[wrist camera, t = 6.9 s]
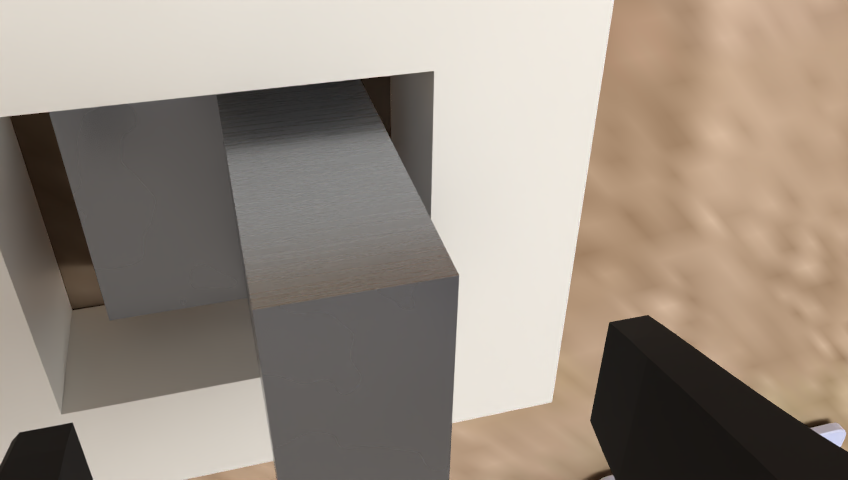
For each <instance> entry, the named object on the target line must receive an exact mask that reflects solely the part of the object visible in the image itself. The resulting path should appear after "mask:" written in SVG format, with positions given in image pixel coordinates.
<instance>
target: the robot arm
mask: <svg viewBox="0 0 848 480" xmlns="http://www.w3.org/2000/svg"><path fill="white" fill-rule="evenodd" d="M590 421H591V424H592V426H593V429H594V431H595V434H596V436H597V439H598V441H599V443H600V446H601V448H602V451H603V453H604V456H605V458H606V460H607V462H608V465H609V467H610V469H611V471H612V474H613V475H610V476H606V477H603V478H601V479H600V480H848V452H847V451H846V450H844V449H842V448H841V445H842V443H843V441H844V439H845V436H846V432H845V430H844V429H843V428H842V427H841V426H840V424H838V423H829V424H824V425H820V426H816V427H812V428H809V427H808V426H806V425H804V424H803V423H801V422H800V421H798V420H797V419H795V418H794V417H792V416H791V415H789V414H788V413H786V412H785V411H783V410H782V409H780V408H779V407H777V406H776V405H775V404H773V403H772V402H770V401H769V400H767V399H766V398H764V397H763V396H761V395H760V394H759V393H757V392H756V391H754V390H753V389H751V388H750V387H749V386H747V385H746V384H744V383H743V382H741V381H740V380H739V379H737V378H736V377H734V376H733V375H732V374H730V373H729V372H727V371H726V370H725V369H723V368H722V367H720V366H719V365H718V364H716V363H715V362H713V361H712V360H711V359H709V358H708V357H706V356H705V355H704V354H702V353H701V352H700V351H698V350H697V349H695V348H694V347H693V346H691V345H690V344H688V343H687V342H686V341H684V340H683V339H682V338H680V337H679V336H677V335H676V334H675V333H673V332H672V331H670V330H669V329H667V328H666V327H665V326H663V325H662V324H660V323H659V322H657V321H656V320H654V319H653V318H651V317H650V316H648V315H646V316H641V317H636V318H630V319H625V320H620V321H614V322H609V327H608V332H607V337H606V342H605V347H604V352H603V358H602V363H601V368H600V373H599V378H598V383H597V388H596V394H595V399H594V404H593V409H592V414H591V419H590ZM0 480H93V478H92V475H91V472H90V469H89V466H88V464H87V461H86V458H85V455H84V452H83V450H82V447H81V444H80V441H79V439H78V436H77V433H76V430H75V427H74V425H73V422H72V423H67V424H62V425H56V426H51V427H46V428H40V429H35V430H30V431H24V432H19V434H18V435H17V436H16V437H15V438H14V439H13V440H12V442H11V444H10V446H9V448H8V450H7V452H6V454H5V456H4V458H3V461H2V463H1V465H0Z"/></svg>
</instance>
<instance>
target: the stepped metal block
mask: <svg viewBox="0 0 848 480" xmlns="http://www.w3.org/2000/svg"><path fill="white" fill-rule="evenodd" d="M49 114H50V118H51V121H52V125H53V128H54V132H55V135H56V138H57V142H58V145H59V149H60V152H61V156H62V159H63V163H64V166H65V169H66V173H67V176H68V180H69V183H70V187H71V190H72V194H73V197H74V200H75V204H76V207H77V211H78V214H79V218H80V221H81V224H82V228H83V231H84V235H85V238H86V242H87V245H88V249H89V252H90V255H91V259H92V262H93V266H94V269H95V273H96V276H97V280H98V283H99V286H100V290H101V293H102V297H103V300H104V304H105V307H106V310H107V314H108V317H109V321H111V320H117V319H123V318H129V317H135V316H141V315H147V314H154V313H160V312H166V311H172V310H178V309H184V308H190V307H196V306H202V305H208V304H214V303H221V302H227V301H233V300H239V299H245V298H247V299H248V305H249V312H250V318H251V324H252V330H253V336H254V342H255V349H256V355H257V361H258V367H259V373H260V380H261V386H262V392H263V398H264V404H265V410H266V417H267V423H268V429H269V435H270V441H271V448H272V454H273V460H274V466H275V472H276V479H277V480H449V472H450V452H451V432H452V412H453V392H454V372H455V352H456V332H457V312H458V292H459V274H458V272H457V270H456V268H455V266H454V264H453V262H452V260H451V258H450V256H449V254H448V252H447V250H446V248H445V246H444V244H443V242H442V240H441V238H440V236H439V234H438V232H437V230H436V228H435V226H434V224H433V222H432V220H431V218H430V216H429V214H428V212H427V210H426V208H425V206H424V204H423V202H422V200H421V198H420V196H419V195H418V193H417V191H416V189H415V187H414V185H413V183H412V181H411V179H410V177H409V175H408V173H407V171H406V169H405V167H404V165H403V163H402V161H401V159H400V157H399V155H398V153H397V151H396V149H395V147H394V145H393V143H392V141H391V139H390V137H389V135H388V133H387V131H386V129H385V127H384V125H383V123H382V121H381V119H380V117H379V115H378V113H377V111H376V109H375V107H374V105H373V103H372V101H371V99H370V97H369V95H368V93H367V91H366V89H365V87H364V86H363V84H362V82H361V80H360V79H354V80H344V81H335V82H326V83H316V84H307V85H297V86H288V87H279V88H269V89H260V90H250V91H241V92H232V93H222V94H213V95H203V96H194V97H185V98H175V99H166V100H156V101H147V102H138V103H128V104H119V105H109V106H100V107H91V108H81V109H72V110H62V111H53V112H49Z"/></svg>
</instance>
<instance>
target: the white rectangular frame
mask: <svg viewBox="0 0 848 480" xmlns="http://www.w3.org/2000/svg"><path fill="white" fill-rule="evenodd" d="M613 4H614V0H0V465H1V463H2V461H3V458H4V456H5V454H6V452H7V450H8V448H9V446H10V444H11V442H12V440H13V439H14V438H15V437H16V436H17V435H18V434H19V432H24V431H30V430H35V429H40V428H46V427H51V426H56V425H62V424H67V423H72V422H73V425H74V427H75V430H76V433H77V436H78V439H79V441H80V444H81V447H82V450H83V452H84V455H85V458H86V461H87V464H88V466H89V469H90V472H91V475H92V478H93V480H185V479H190V478H194V477H199V476H204V475H209V474H213V473H218V472H223V471H228V470H232V469H237V468H242V467H247V466H251V465H256V464H261V463H266V462H270V461H274V460H273V454H272V448H271V441H270V435H269V429H268V423H267V417H266V410H265V404H264V398H263V392H262V386H261V380H260V373H259V367H258V361H257V355H256V349H255V342H254V336H253V330H252V324H251V318H250V312H249V305H248V299H247V298H245V299H239V300H233V301H227V302H221V303H214V304H208V305H202V306H196V307H190V308H184V309H178V310H172V311H166V312H160V313H154V314H147V315H141V316H135V317H129V318H123V319H117V320H111V321H109V317H108V314H107V310H106V307H105V305H103V306H96V307H90V308H84V309H78V310H72V308H71V305H70V302H69V298H68V295H67V292H66V289H65V286H64V283H63V280H62V277H61V274H60V271H59V268H58V264H57V261H56V258H55V255H54V252H53V249H52V246H51V243H50V240H49V237H48V233H47V230H46V227H45V224H44V221H43V218H42V215H41V212H40V209H39V206H38V203H37V199H36V196H35V193H34V190H33V187H32V184H31V181H30V178H29V175H28V172H27V168H26V165H25V162H24V159H23V156H22V153H21V150H20V147H19V144H18V141H17V137H16V134H15V131H14V128H13V125H12V122H11V119H10V116H15V115H25V114H34V113H44V112H53V111H62V110H72V109H81V108H91V107H100V106H109V105H119V104H128V103H138V102H147V101H156V100H166V99H175V98H185V97H194V96H203V95H213V94H222V93H232V92H241V91H250V90H260V89H269V88H279V87H288V86H297V85H307V84H316V83H326V82H335V81H344V80H354V79H363V78H373V77H382V76H390V93H391V141H392V143H393V145H394V147H395V149H396V151H397V153H398V155H399V157H400V159H401V161H402V163H403V165H404V167H405V169H406V171H407V173H408V175H409V177H410V179H411V181H412V183H413V185H414V187H415V189H416V191H417V193H418V195H419V196H420V198H421V200H422V202H423V204H424V206H425V208H426V210H427V212H428V214H429V216H430V218H431V220H432V222H433V224H434V226H435V228H436V230H437V232H438V234H439V236H440V238H441V240H442V242H443V244H444V246H445V248H446V250H447V252H448V254H449V256H450V258H451V260H452V262H453V264H454V266H455V268H456V270H457V272H458V274H459V292H458V312H457V332H456V352H455V372H454V392H453V412H452V423H455V422H460V421H465V420H469V419H474V418H479V417H484V416H488V415H493V414H498V413H503V412H507V411H512V410H517V409H522V408H526V407H531V406H536V405H541V404H545V403H550V402H552V398H553V392H554V385H555V379H556V372H557V366H558V359H559V353H560V346H561V340H562V334H563V327H564V321H565V314H566V308H567V301H568V295H569V288H570V282H571V275H572V269H573V262H574V256H575V250H576V243H577V237H578V230H579V224H580V217H581V211H582V204H583V198H584V191H585V185H586V178H587V172H588V166H589V159H590V153H591V146H592V140H593V133H594V127H595V120H596V114H597V107H598V101H599V94H600V88H601V82H602V75H603V69H604V62H605V56H606V49H607V43H608V36H609V30H610V23H611V17H612V10H613Z"/></svg>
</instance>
